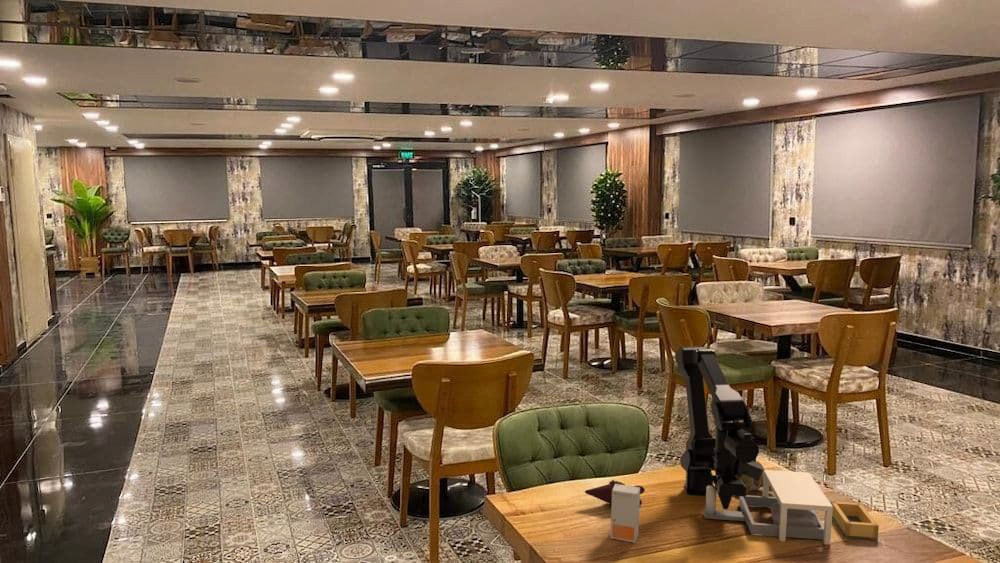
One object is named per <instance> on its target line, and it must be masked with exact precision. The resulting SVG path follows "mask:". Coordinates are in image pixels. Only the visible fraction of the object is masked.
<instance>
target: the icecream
mask: <svg viewBox="0 0 1000 563" xmlns="http://www.w3.org/2000/svg"><path fill="white" fill-rule="evenodd" d="M615 484H620V485H626V484H625V483H623V482H622V481H619V480H614V479H611V480H610V481H609V483H608V484H604V485H601V486H597V487H594V488H589V489H586V490H585V491H584V493H585V494H587V495H588V496H591V497H593V498H596V499H598V500H601V501H603V502H605V503H607V504H608V505H609V506H610V507H611V505H612V490H613V488H614V485H615ZM634 487H640V495H642V494H644V493H645V488H644V486H642V485H634ZM642 504H643V502H642V499H641V498H640V505H639V506H641V505H642Z"/></svg>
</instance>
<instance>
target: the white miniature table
mask: <svg viewBox="0 0 1000 563" xmlns="http://www.w3.org/2000/svg"><path fill="white" fill-rule="evenodd" d="M769 485H770V487H771V489H772V491H773V492H772V493H773V494H774V497H776V498H777V500H778V502H779V504H780V506H781V507H780V525H779V536H778V540H779V542H786V538H787V537H786V522H787V508H788V509H803V510H814V511H818V512H819V511H820V512H824V521H823V522H824V523H823V525H824V538H823V540H822V542H823V544H824V545H829V546H831V539H832V526H833V525H832V524H833V523H832V522H833V519H832V510H833V506H832V505H831V501H830V500H829V499H828V498H827V496H826V494H824V492H823V491H822V489H821V488H820V486H819V485H818V483H817V482H816V480H815V479H814V478H813V476H812V475H811V473H810V472H807V471H806V472H805V471H804V472H803V471H792V470H791V471H789V470H772V469H771V470H769V469H764V477H763V487H762V496H766V497H770V496H769V495H770V492H769Z"/></svg>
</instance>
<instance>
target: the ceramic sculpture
mask: <svg viewBox="0 0 1000 563" xmlns="http://www.w3.org/2000/svg"><path fill="white" fill-rule="evenodd" d="M735 477H737V476H735ZM763 477H764V472H763V474H762V476H761V479H760V481H756V480H754V479H753V478H751V477H748V476H746V475H744V474H742V477H738V479H741V480H742V481H743V482H744V484H745V486H746V488H747V491H746V494H748V493H749V492H750V491H758V490H760V489H761V488H763ZM771 492H772V493H773V491H772V489H771V487H770V485H769V493H771Z"/></svg>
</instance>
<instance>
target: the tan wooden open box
mask: <svg viewBox="0 0 1000 563" xmlns="http://www.w3.org/2000/svg"><path fill="white" fill-rule="evenodd" d="M830 503H831V505H832V506H833V510H832V521H834V523H835V525H836V526H837V528H838V529H839V531H840V532H841V534H842V535H843V536H844V538H845V539H853V540H854V539H856V540H868V541H879V539H878V538H879V528H880V527H879V524H878V523H877V521H876V520H875V518H873V517H872V515H871V514H870V513H869V512H868V510H867V509H866V508H865V506H864V505H863V504H862V503H861V502H860V503H859V502H845V501H844V502H843V501H830Z"/></svg>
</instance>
